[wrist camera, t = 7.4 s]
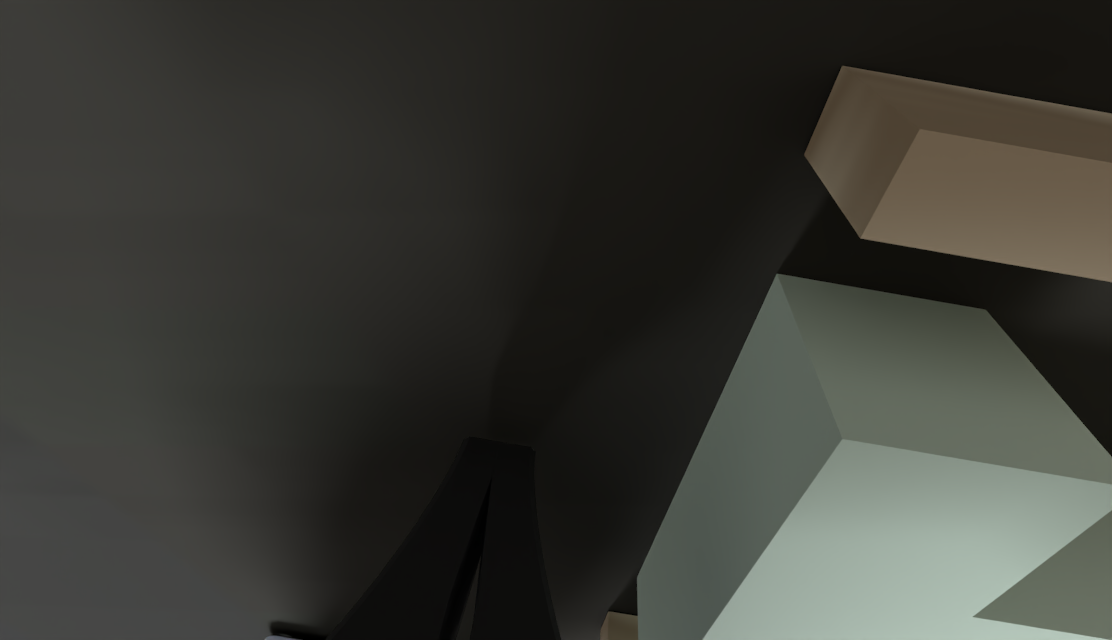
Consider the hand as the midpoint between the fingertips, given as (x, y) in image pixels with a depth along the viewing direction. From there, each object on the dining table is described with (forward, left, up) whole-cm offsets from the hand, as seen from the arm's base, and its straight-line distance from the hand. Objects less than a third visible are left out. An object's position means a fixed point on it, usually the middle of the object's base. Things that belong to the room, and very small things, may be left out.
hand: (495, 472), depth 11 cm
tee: (0, -9, -1) cm, 9 cm away
